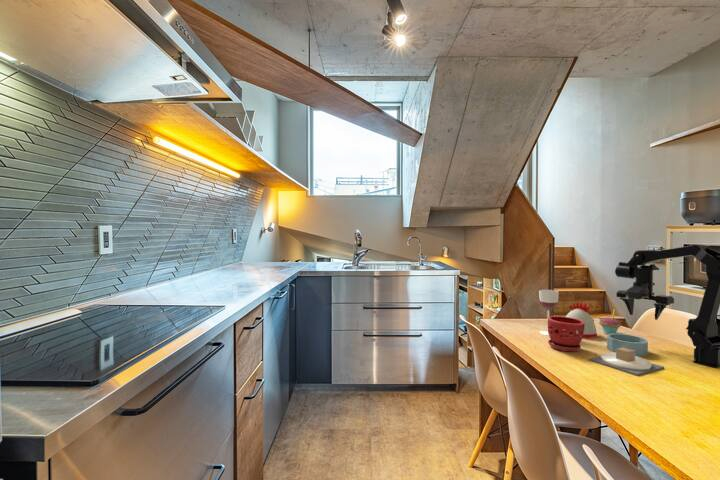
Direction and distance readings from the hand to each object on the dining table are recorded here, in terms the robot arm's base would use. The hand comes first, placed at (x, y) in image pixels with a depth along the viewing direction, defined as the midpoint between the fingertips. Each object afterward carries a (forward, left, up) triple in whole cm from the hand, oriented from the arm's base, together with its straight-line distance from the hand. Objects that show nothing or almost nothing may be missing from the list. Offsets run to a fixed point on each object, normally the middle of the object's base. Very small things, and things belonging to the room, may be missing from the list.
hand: (643, 317), depth 150 cm
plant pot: (+11, +33, -12) cm, 37 cm away
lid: (-10, +30, -11) cm, 34 cm away
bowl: (-1, +13, -12) cm, 18 cm away
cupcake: (+18, -8, -12) cm, 23 cm away
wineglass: (+29, +20, -12) cm, 37 cm away
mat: (-10, +30, -12) cm, 34 cm away
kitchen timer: (+23, +7, -12) cm, 27 cm away
